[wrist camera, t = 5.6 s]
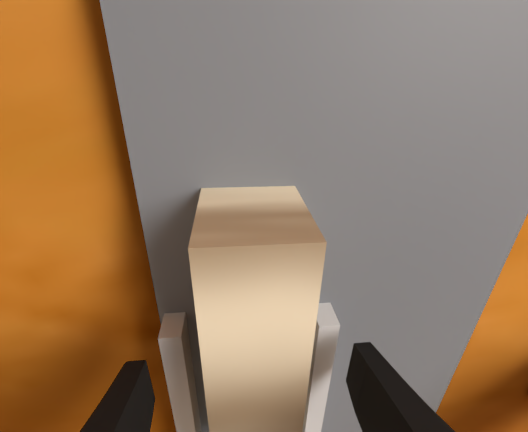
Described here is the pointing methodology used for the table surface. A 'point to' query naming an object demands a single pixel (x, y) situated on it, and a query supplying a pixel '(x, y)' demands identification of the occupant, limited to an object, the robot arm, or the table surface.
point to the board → (334, 165)
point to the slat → (255, 305)
